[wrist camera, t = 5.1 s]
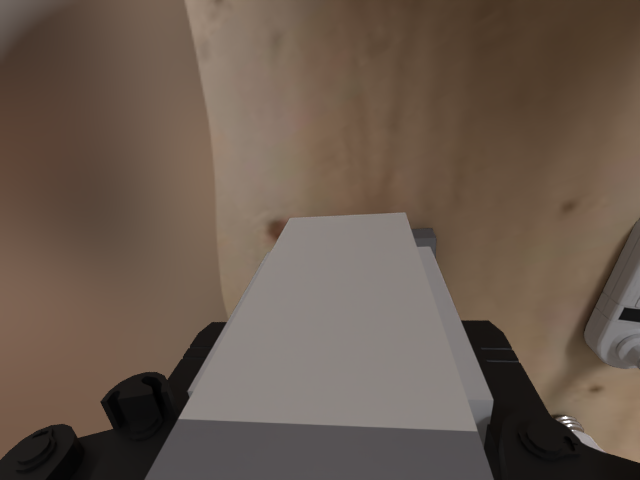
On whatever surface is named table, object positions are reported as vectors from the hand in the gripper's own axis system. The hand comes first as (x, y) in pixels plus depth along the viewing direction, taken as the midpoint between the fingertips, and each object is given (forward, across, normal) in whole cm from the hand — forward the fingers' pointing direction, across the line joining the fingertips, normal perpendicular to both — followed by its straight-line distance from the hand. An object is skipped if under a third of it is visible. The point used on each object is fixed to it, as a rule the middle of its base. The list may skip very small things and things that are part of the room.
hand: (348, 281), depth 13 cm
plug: (+1, 0, 0) cm, 1 cm away
